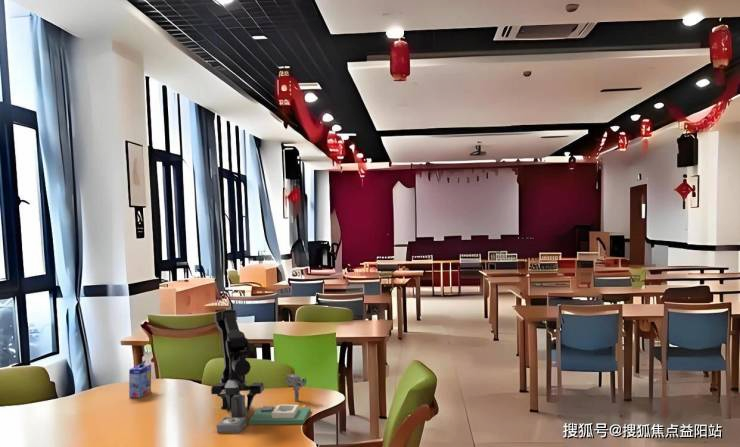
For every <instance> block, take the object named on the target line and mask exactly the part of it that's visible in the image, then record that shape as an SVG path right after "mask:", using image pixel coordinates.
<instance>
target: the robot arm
mask: <svg viewBox="0 0 740 447" xmlns="http://www.w3.org/2000/svg"><path fill="white" fill-rule="evenodd" d="M237 315H238V314H237V310H235V309H234V308H228V309H223V310H218V311H216V312H215V313H214V317H213V318H214V319H213V321H214V323H215V324H216V325H215V326H216V329H218V330H217V331H219V332H220V334H221V335H220V336H221V344H222V354H223V356H222V357H223V365H224V368H223V371H222V374H221V378H220V379H219V382H216V383H215V384H214V385H213V386H212V387H211V390H210V391H211V395H217V397H219V398H221V400H222V406H220V409H222V410H224V409H225V410H226V411H227V412H228V413H229V412H230V411H231V398H232V397H233V396H234V395H242V393H241V392H248V393H247V394H246V397H247V400H246V411H247V412H250V410H251V409H250V408H251V406H252V402H253V400H254V398H255V397H256V395H260V394H262V393H263V391H265V385H264V383H263V382H253V383H252V384H251V385H250V384H249V385H247V380H246V375H248V374H249V373H250V371H251V363H250V362H249V361H248V359H247V358H246V356H250V353H251V347H250V341H249V340H248V338H247V337H246V335H245V333H244V332H242V331H241V330H240V328H239V324H238V321H237V320H238V316H237Z"/></svg>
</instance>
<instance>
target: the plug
mask: <svg viewBox="0 0 740 447" xmlns="http://www.w3.org/2000/svg"><path fill="white" fill-rule="evenodd" d="M230 411H231V417H246V395H245V394H241V395H234V396H233V397H232V398H231V409H230Z"/></svg>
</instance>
